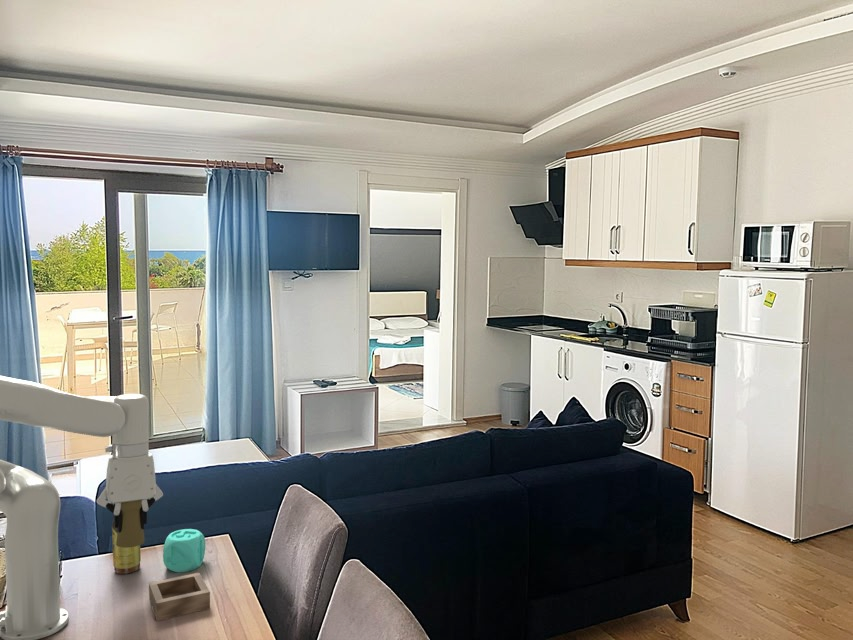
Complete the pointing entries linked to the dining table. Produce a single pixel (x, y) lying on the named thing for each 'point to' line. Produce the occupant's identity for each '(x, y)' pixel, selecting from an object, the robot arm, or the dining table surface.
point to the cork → (130, 525)
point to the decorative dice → (184, 550)
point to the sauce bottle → (125, 556)
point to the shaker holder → (179, 596)
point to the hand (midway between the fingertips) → (130, 528)
